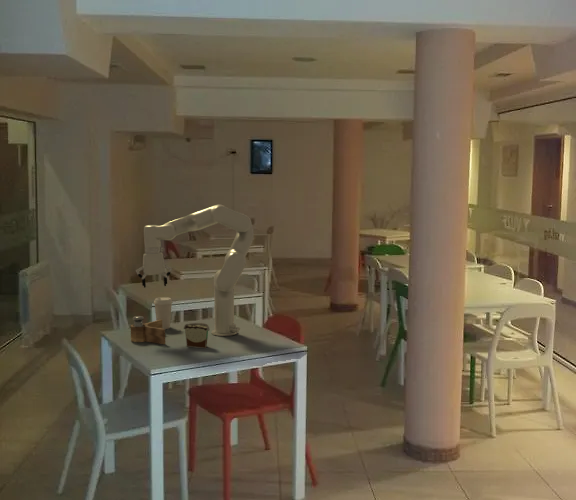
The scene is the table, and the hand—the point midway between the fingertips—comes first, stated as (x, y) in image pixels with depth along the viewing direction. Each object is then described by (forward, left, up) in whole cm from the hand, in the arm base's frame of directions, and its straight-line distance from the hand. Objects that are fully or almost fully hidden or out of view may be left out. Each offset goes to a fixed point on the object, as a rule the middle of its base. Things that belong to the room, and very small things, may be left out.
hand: (154, 286), depth 346 cm
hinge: (-4, +4, -24) cm, 25 cm away
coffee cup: (+9, -16, -25) cm, 31 cm away
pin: (+2, +10, -24) cm, 26 cm away
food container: (-30, +4, -25) cm, 39 cm away
